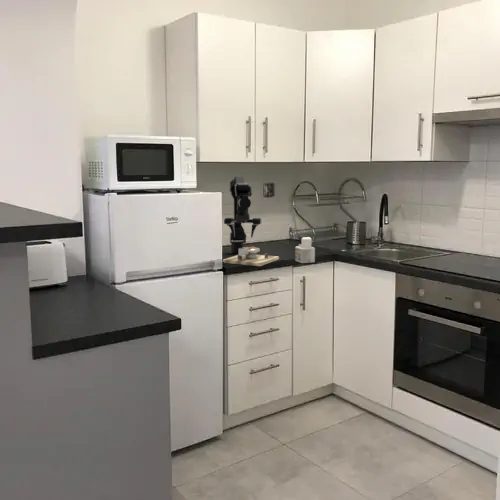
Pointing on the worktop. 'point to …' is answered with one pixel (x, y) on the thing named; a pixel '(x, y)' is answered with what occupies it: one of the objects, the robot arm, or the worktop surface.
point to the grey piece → (248, 250)
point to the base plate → (251, 259)
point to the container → (305, 251)
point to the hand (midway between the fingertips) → (242, 237)
